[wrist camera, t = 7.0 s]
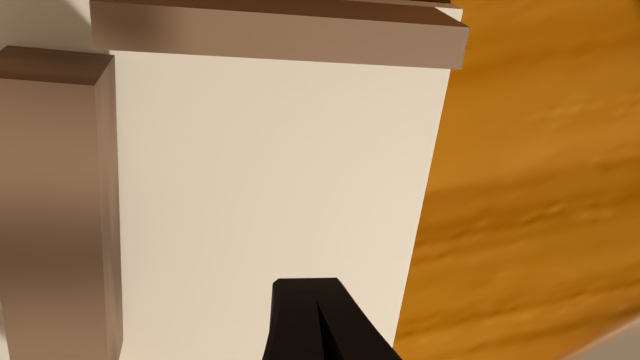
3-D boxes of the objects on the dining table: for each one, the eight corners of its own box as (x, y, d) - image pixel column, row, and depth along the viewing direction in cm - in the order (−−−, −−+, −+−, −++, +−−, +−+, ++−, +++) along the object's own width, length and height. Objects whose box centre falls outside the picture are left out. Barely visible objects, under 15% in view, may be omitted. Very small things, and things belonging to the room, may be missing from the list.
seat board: (-24, 401, 24) (-73, 501, 20) (-141, -43, 16) (-262, -20, 12) (377, 380, 27) (402, 464, 23) (451, 3, 19) (511, 33, 15)
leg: (123, 339, 22) (109, 401, 19) (42, 340, 21) (16, 403, 19) (114, 55, 17) (94, 85, 14) (7, 45, 16) (-35, 75, 14)
